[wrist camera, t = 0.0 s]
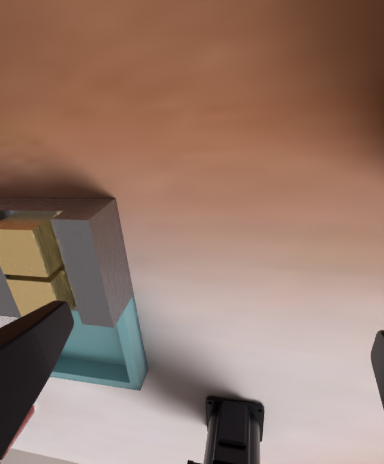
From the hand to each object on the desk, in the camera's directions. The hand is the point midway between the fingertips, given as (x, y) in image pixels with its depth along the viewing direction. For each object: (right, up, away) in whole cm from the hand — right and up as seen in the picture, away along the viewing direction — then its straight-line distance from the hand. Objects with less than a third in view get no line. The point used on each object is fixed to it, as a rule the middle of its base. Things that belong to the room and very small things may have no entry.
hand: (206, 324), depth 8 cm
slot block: (-12, +1, +19) cm, 23 cm away
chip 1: (-13, +2, +15) cm, 20 cm away
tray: (-12, -8, +23) cm, 27 cm away
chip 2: (-13, -2, +17) cm, 22 cm away
